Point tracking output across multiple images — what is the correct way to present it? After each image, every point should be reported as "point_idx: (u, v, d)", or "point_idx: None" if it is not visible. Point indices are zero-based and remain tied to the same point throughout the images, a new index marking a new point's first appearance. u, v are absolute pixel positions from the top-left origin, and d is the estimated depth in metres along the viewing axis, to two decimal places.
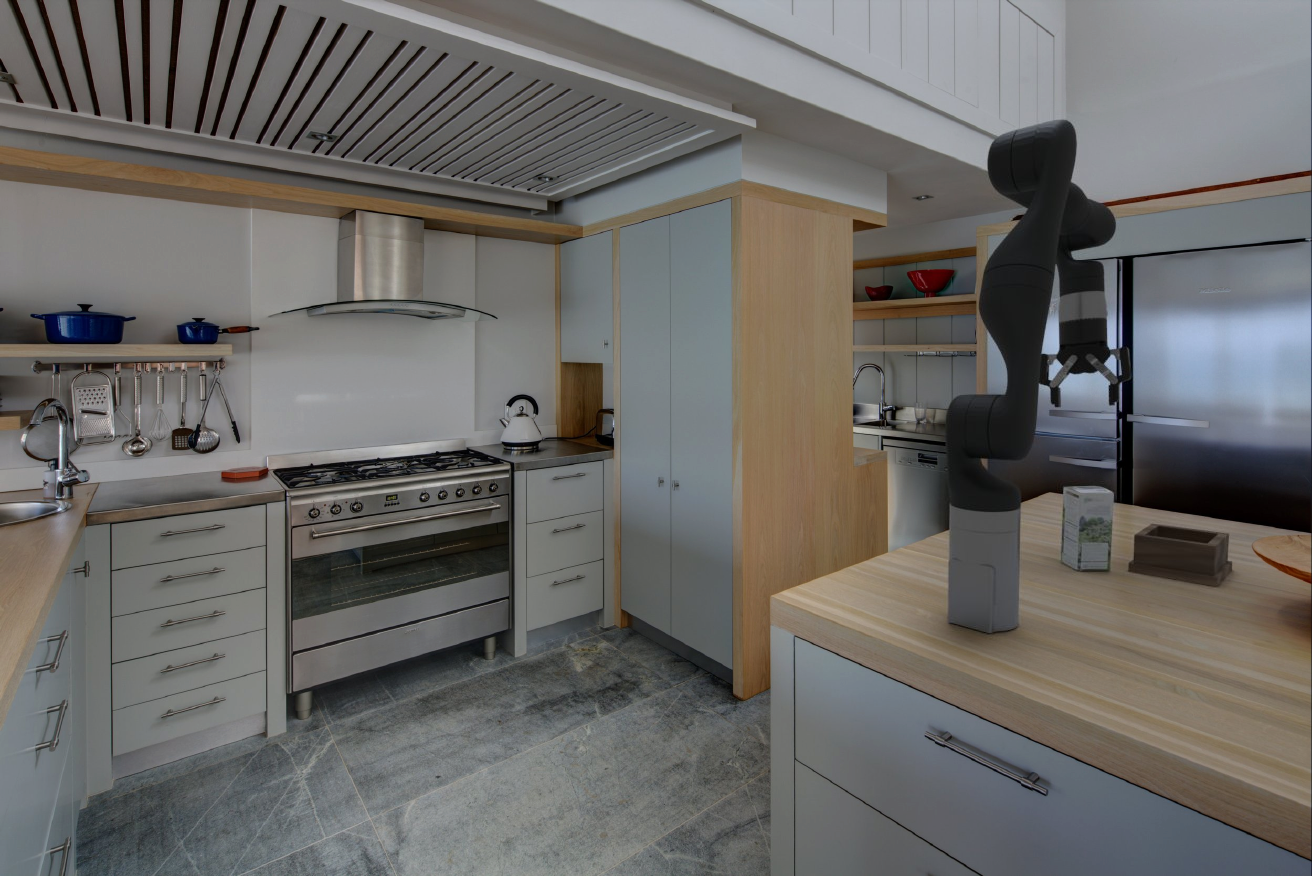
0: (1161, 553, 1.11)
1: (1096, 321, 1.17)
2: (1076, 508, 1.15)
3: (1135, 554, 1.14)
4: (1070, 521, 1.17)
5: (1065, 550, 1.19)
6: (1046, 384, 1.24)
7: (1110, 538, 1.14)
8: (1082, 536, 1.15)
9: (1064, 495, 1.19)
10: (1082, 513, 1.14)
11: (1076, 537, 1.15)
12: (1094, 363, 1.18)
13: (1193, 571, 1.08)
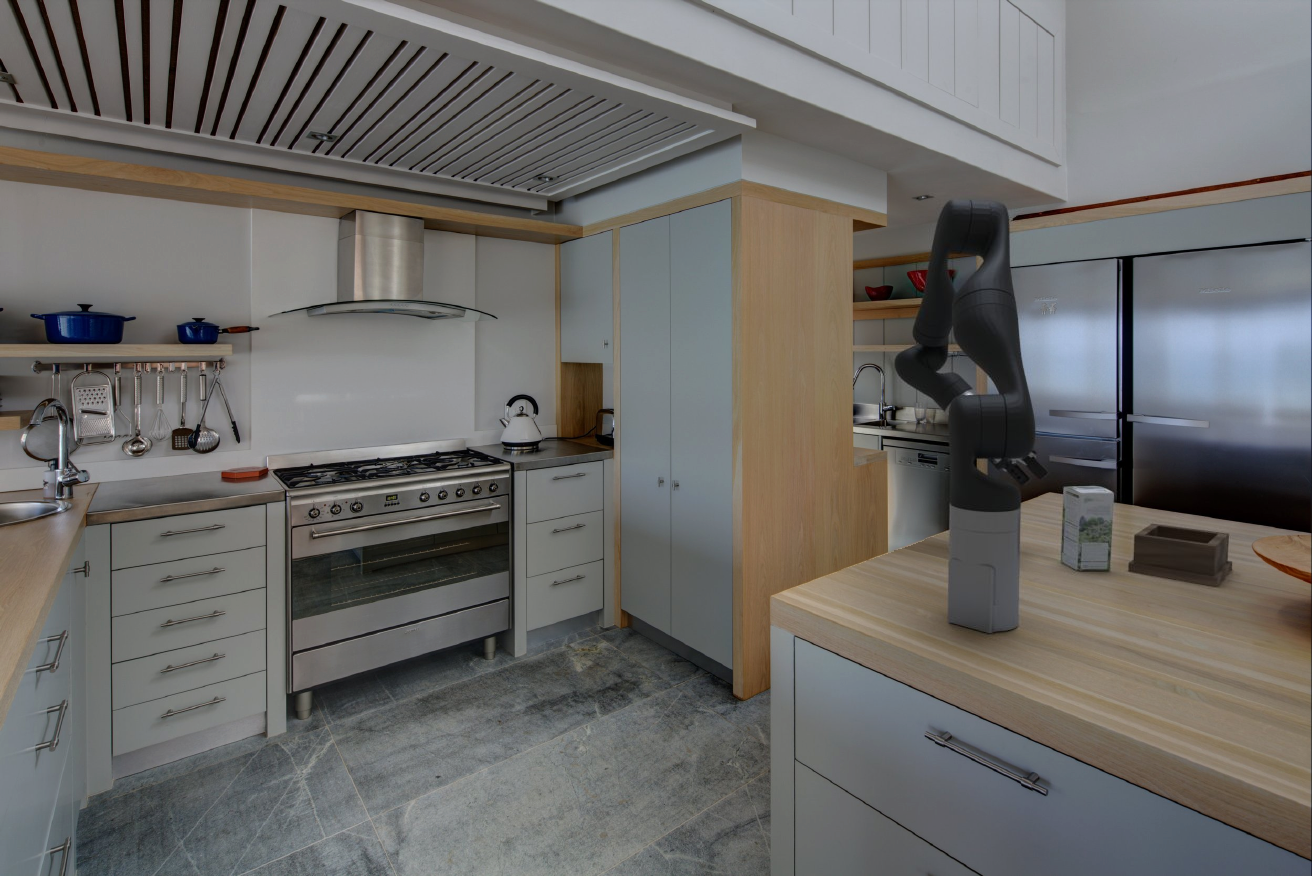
0: (1161, 553, 1.11)
1: None
2: (1076, 508, 1.15)
3: (1135, 554, 1.14)
4: (1070, 521, 1.17)
5: (1065, 550, 1.19)
6: (1008, 462, 1.20)
7: (1110, 538, 1.14)
8: (1082, 536, 1.15)
9: (1064, 495, 1.19)
10: (1082, 513, 1.14)
11: (1076, 537, 1.15)
12: None
13: (1193, 571, 1.08)
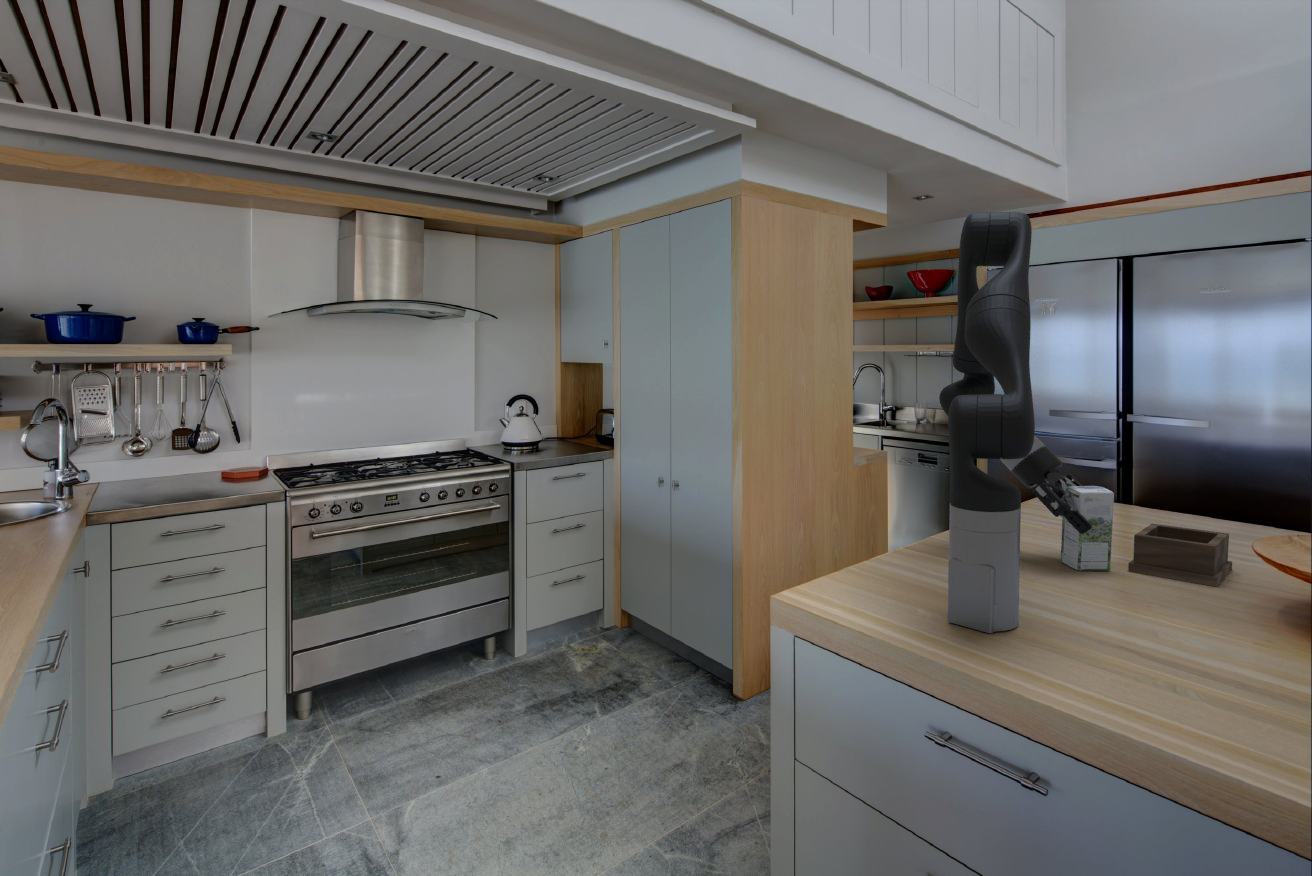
0: (1161, 553, 1.11)
1: None
2: (1076, 508, 1.15)
3: (1135, 554, 1.14)
4: None
5: (1065, 550, 1.19)
6: (1067, 509, 1.14)
7: (1110, 538, 1.14)
8: (1082, 536, 1.15)
9: None
10: (1082, 513, 1.14)
11: (1076, 537, 1.15)
12: (1073, 485, 1.20)
13: (1193, 571, 1.08)
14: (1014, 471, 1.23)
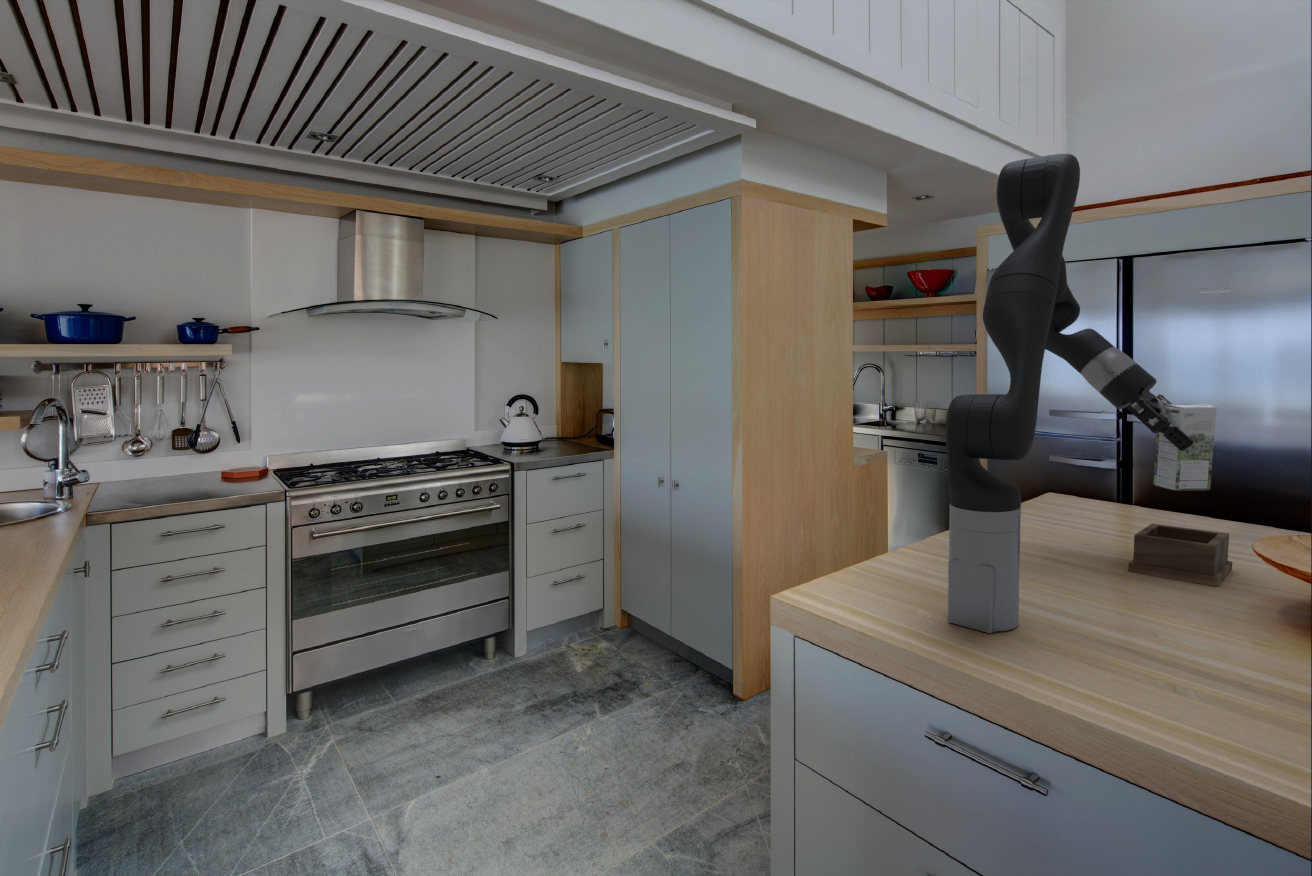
0: (1161, 553, 1.11)
1: None
2: None
3: (1135, 554, 1.14)
4: (1167, 439, 1.11)
5: (1160, 471, 1.13)
6: (1167, 425, 1.08)
7: (1211, 455, 1.09)
8: (1181, 454, 1.09)
9: None
10: (1181, 429, 1.09)
11: (1174, 455, 1.10)
12: (1167, 404, 1.14)
13: (1193, 571, 1.08)
14: (1104, 391, 1.17)
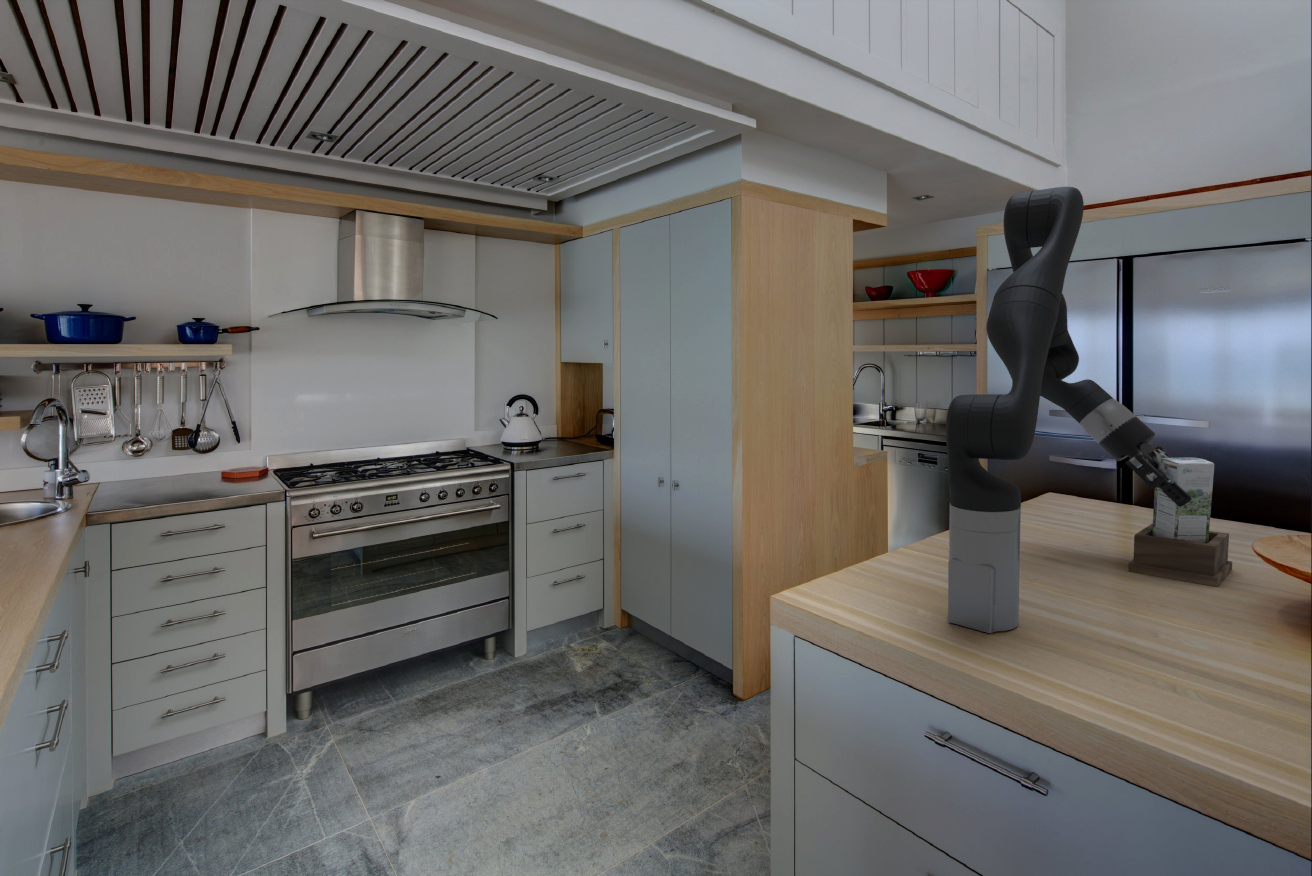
0: (1161, 553, 1.11)
1: None
2: None
3: (1135, 554, 1.14)
4: None
5: (1158, 524, 1.14)
6: (1165, 481, 1.09)
7: (1209, 511, 1.10)
8: (1179, 509, 1.10)
9: None
10: (1180, 484, 1.09)
11: (1172, 510, 1.11)
12: (1166, 457, 1.15)
13: (1193, 571, 1.08)
14: (1103, 443, 1.18)
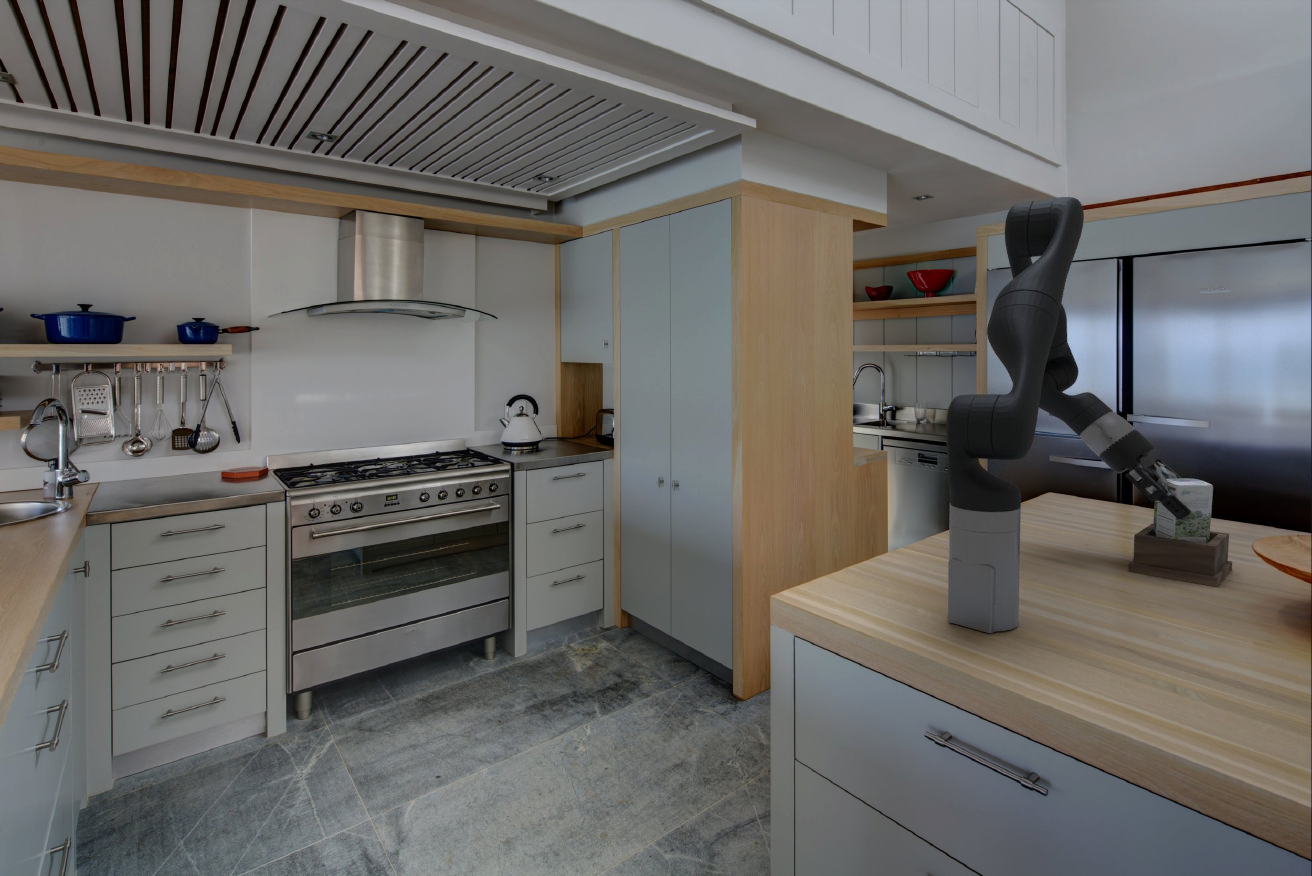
0: (1161, 553, 1.11)
1: None
2: None
3: (1135, 554, 1.14)
4: (1164, 514, 1.13)
5: None
6: (1164, 494, 1.09)
7: (1208, 532, 1.10)
8: (1178, 530, 1.10)
9: None
10: None
11: (1171, 532, 1.11)
12: (1166, 470, 1.15)
13: (1193, 571, 1.08)
14: (1103, 456, 1.18)
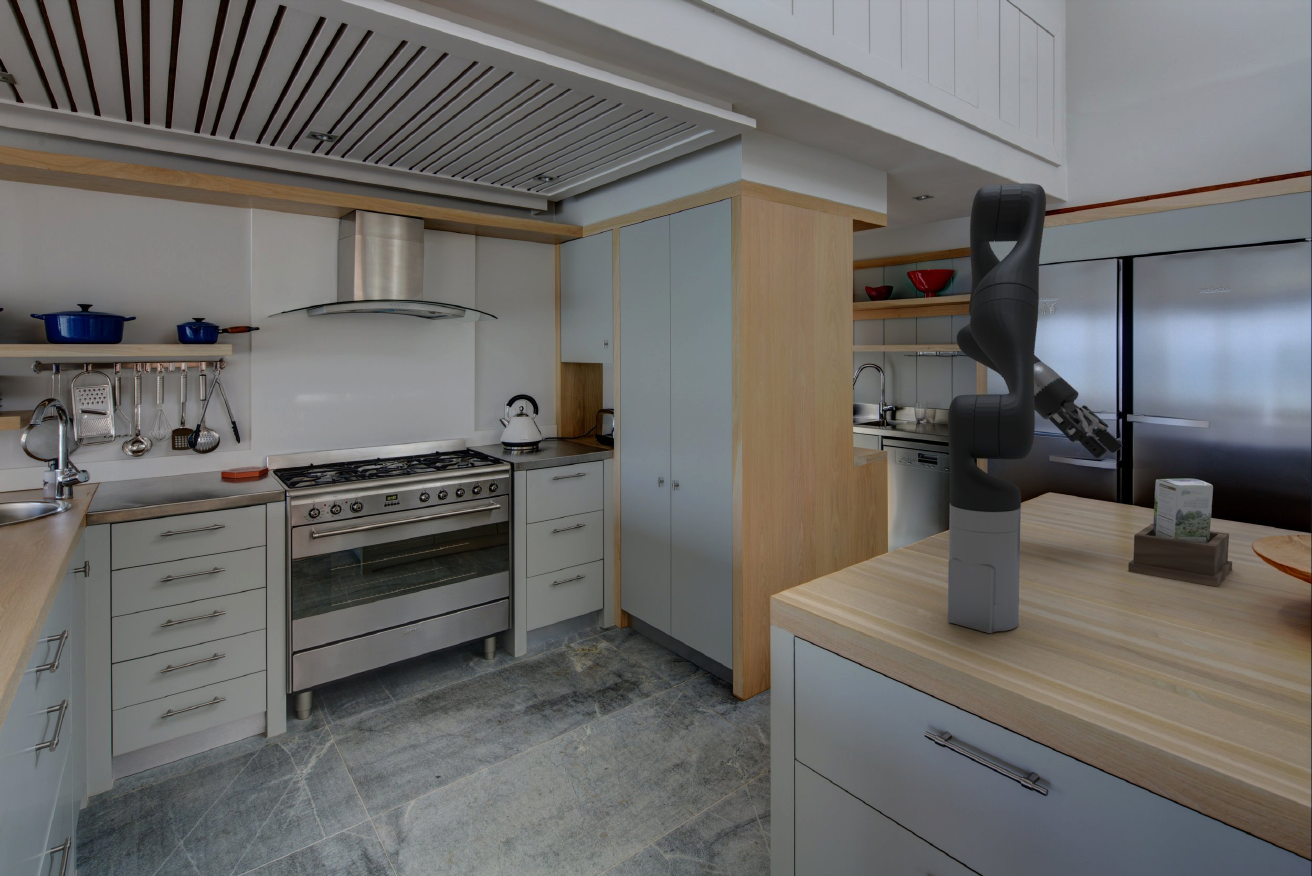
0: (1161, 553, 1.11)
1: None
2: (1171, 501, 1.11)
3: (1135, 554, 1.14)
4: (1164, 514, 1.13)
5: None
6: (1083, 434, 1.18)
7: (1208, 532, 1.10)
8: (1178, 530, 1.10)
9: (1156, 488, 1.15)
10: (1178, 506, 1.10)
11: (1171, 532, 1.11)
12: (1089, 414, 1.24)
13: (1193, 571, 1.08)
14: None
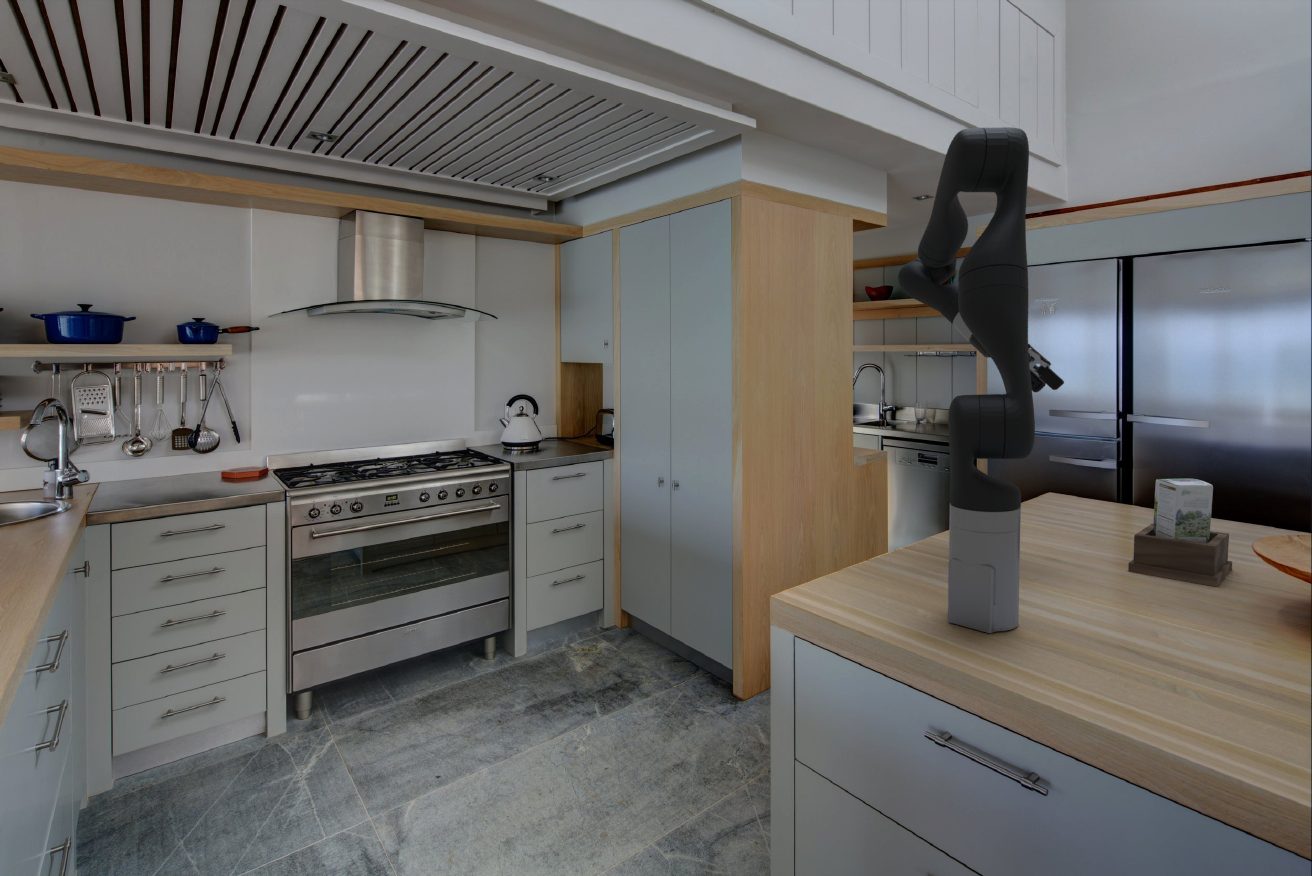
0: (1161, 553, 1.11)
1: None
2: (1171, 501, 1.11)
3: (1135, 554, 1.14)
4: (1164, 514, 1.13)
5: None
6: None
7: (1208, 532, 1.10)
8: (1178, 530, 1.10)
9: (1157, 488, 1.15)
10: (1179, 506, 1.10)
11: (1171, 532, 1.11)
12: (1029, 350, 1.19)
13: (1193, 571, 1.08)
14: (971, 340, 1.22)
